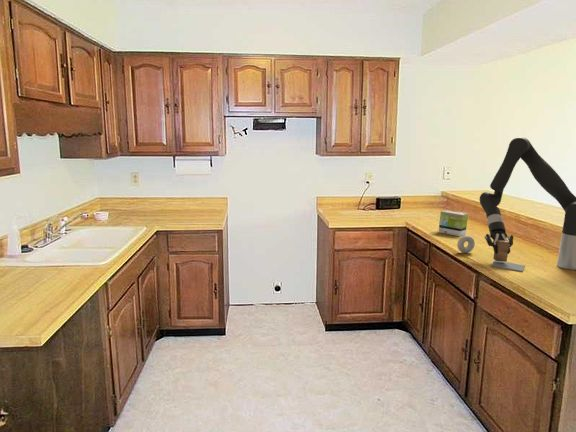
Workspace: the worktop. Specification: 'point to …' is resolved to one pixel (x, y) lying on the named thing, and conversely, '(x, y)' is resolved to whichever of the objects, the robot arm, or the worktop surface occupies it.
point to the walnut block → (501, 251)
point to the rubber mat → (508, 266)
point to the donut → (470, 244)
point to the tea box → (453, 223)
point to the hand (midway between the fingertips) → (502, 252)
